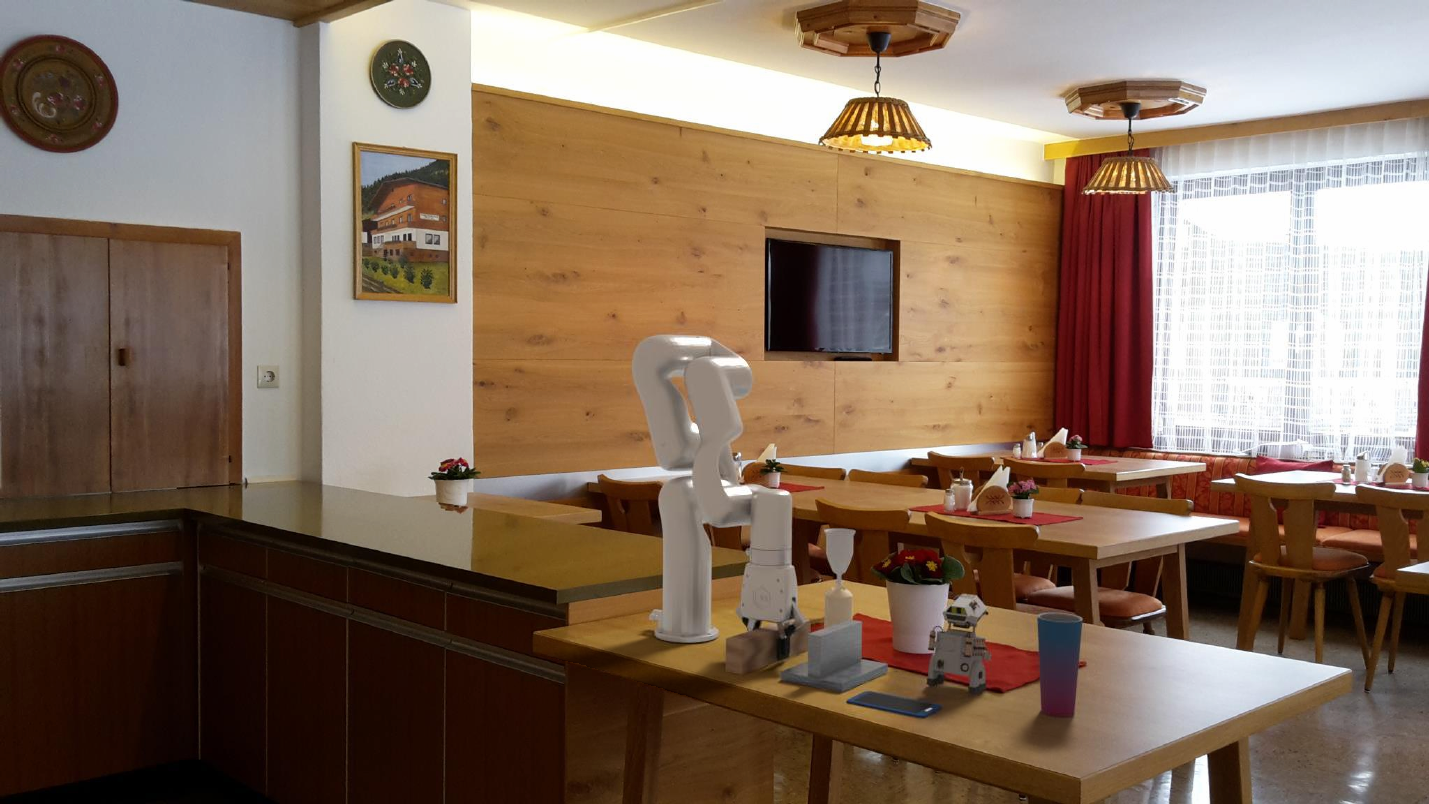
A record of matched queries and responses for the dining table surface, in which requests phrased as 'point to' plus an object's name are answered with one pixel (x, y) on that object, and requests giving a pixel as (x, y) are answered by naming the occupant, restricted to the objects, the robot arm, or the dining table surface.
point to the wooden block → (762, 647)
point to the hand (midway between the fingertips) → (769, 655)
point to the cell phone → (895, 704)
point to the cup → (1058, 662)
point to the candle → (838, 606)
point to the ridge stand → (835, 660)
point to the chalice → (839, 550)
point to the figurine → (960, 645)
